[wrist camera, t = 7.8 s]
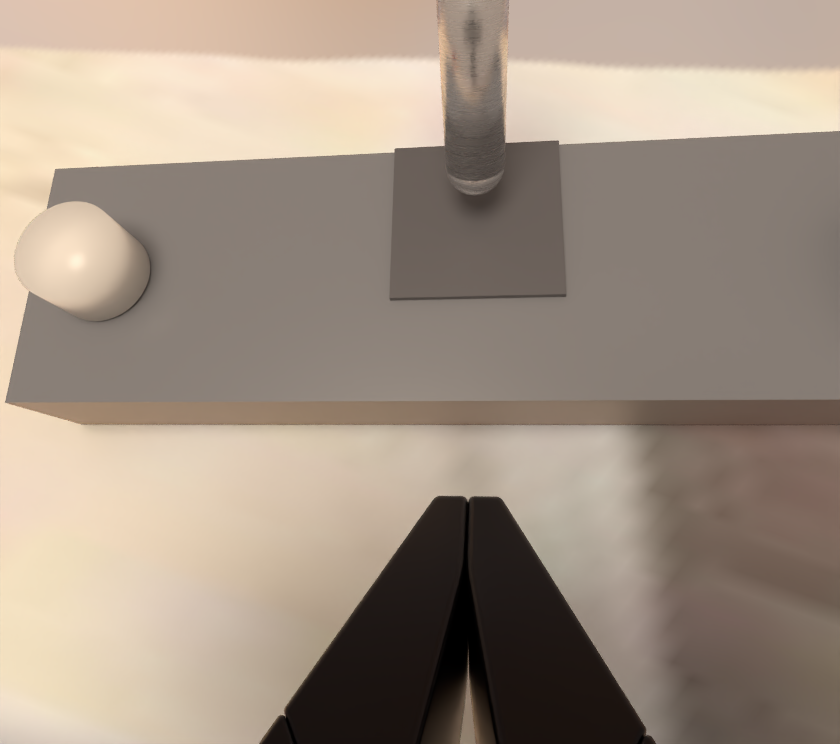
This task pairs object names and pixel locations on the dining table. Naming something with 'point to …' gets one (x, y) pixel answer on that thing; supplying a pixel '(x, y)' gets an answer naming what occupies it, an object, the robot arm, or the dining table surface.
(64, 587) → the dining table surface
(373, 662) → the robot arm
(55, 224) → the push button
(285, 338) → the switch panel
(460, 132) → the toggle lever
